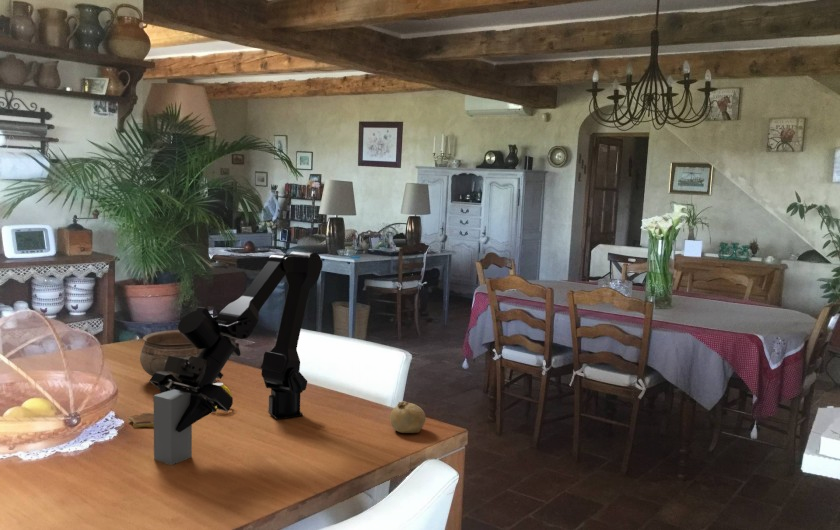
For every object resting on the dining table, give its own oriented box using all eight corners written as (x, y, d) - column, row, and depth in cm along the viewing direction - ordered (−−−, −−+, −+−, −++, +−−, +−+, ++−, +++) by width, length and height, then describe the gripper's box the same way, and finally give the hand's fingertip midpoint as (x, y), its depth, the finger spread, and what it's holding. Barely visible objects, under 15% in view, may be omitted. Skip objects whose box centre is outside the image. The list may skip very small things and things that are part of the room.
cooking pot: (149, 369, 203) (149, 327, 201) (217, 368, 206) (218, 327, 205) (130, 395, 178) (130, 348, 177) (208, 394, 182) (208, 347, 180)
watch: (231, 405, 173) (231, 382, 172) (230, 409, 170) (230, 385, 170) (206, 406, 172) (206, 382, 171) (204, 410, 169) (204, 385, 168)
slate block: (174, 451, 143) (174, 389, 142) (191, 457, 141) (191, 393, 139) (154, 459, 139) (153, 395, 137) (171, 465, 136) (171, 400, 135)
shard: (181, 429, 157) (181, 421, 157) (148, 437, 152) (148, 429, 151) (155, 417, 164) (155, 409, 164) (123, 425, 158) (123, 417, 158)
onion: (403, 422, 166) (405, 393, 165) (431, 430, 161) (433, 400, 160) (382, 431, 159) (383, 401, 158) (411, 440, 155) (412, 408, 154)
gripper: (156, 332, 145) (110, 398, 137) (222, 346, 136) (176, 417, 128) (187, 362, 153) (144, 425, 145) (251, 377, 144) (209, 445, 135)
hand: (167, 428), depth 138 cm, fingers open, 6 cm apart
